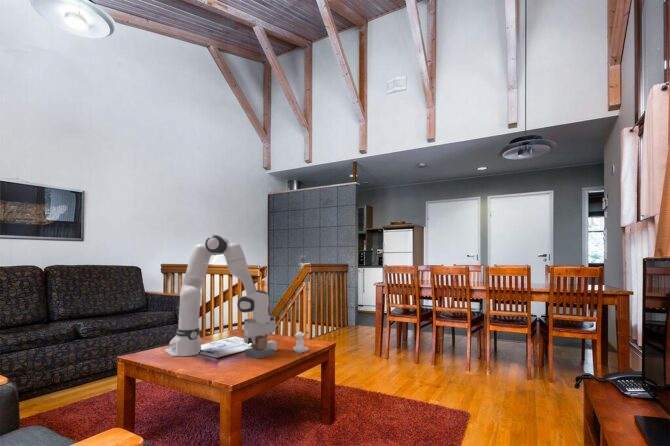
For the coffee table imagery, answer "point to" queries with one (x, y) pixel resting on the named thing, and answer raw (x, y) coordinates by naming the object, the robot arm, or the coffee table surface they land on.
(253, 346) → the walnut block
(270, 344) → the cream block
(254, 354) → the base
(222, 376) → the coffee table surface
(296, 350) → the white creature statuette
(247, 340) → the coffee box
